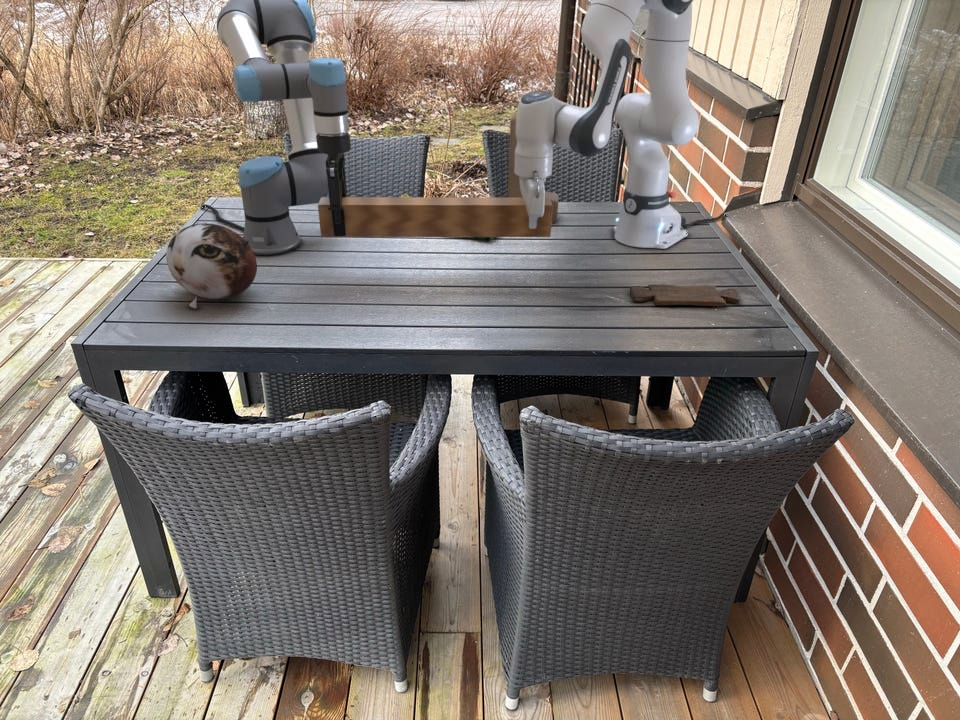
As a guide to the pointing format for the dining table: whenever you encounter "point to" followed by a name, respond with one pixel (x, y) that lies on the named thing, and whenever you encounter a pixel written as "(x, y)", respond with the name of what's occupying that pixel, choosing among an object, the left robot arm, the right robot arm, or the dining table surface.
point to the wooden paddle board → (684, 295)
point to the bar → (435, 217)
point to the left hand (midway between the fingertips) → (341, 230)
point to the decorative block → (514, 179)
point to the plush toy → (211, 261)
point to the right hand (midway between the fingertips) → (530, 222)
